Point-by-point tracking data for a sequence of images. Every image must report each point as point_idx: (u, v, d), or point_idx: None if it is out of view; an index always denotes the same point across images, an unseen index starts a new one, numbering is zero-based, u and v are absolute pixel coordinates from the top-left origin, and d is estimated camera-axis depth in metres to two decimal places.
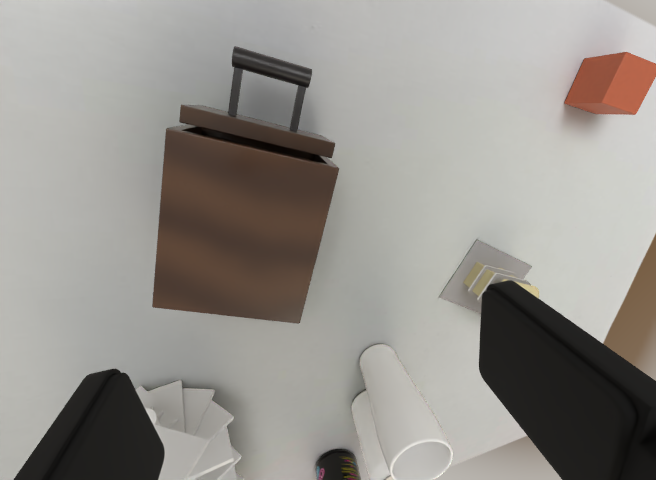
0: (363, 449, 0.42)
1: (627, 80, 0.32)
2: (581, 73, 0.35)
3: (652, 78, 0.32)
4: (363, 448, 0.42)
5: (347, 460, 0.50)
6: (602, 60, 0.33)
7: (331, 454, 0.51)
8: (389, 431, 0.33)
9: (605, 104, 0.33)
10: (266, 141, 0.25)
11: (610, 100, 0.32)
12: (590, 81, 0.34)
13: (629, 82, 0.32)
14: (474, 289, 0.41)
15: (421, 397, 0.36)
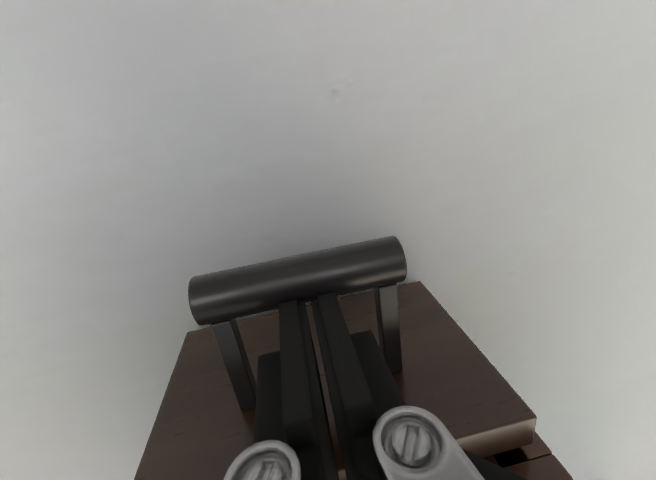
0: None
1: None
2: None
3: None
4: None
5: None
6: None
7: None
8: None
9: None
10: None
11: None
12: None
13: None
14: None
15: None
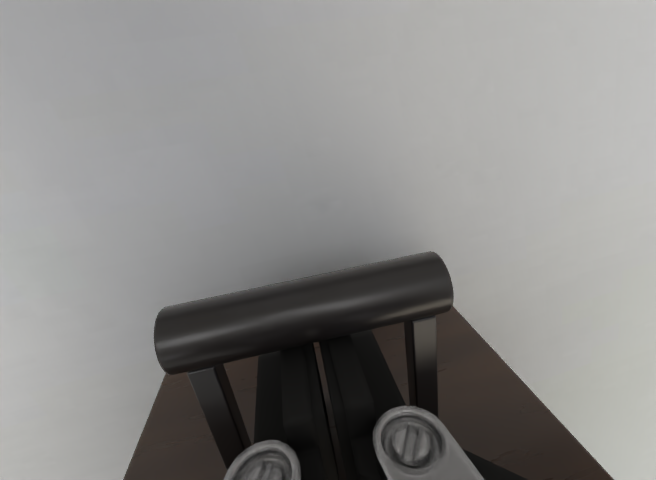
0: None
1: None
2: None
3: None
4: None
5: None
6: None
7: None
8: None
9: None
10: None
11: None
12: None
13: None
14: None
15: None
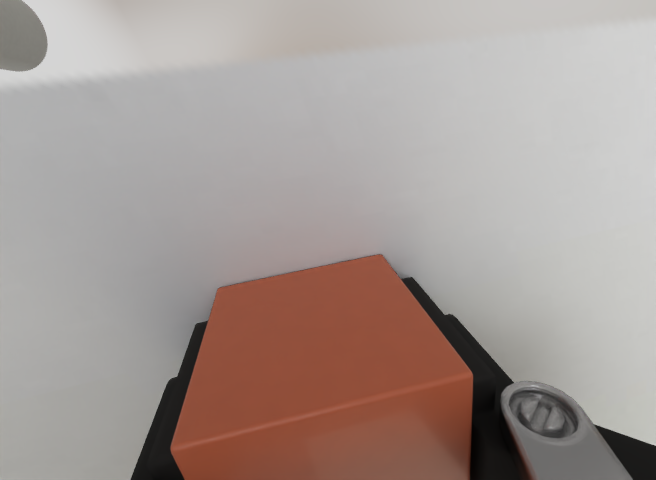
0: None
1: None
2: None
3: (456, 433, 0.05)
4: None
5: None
6: None
7: None
8: None
9: None
10: None
11: None
12: None
13: None
14: None
15: None
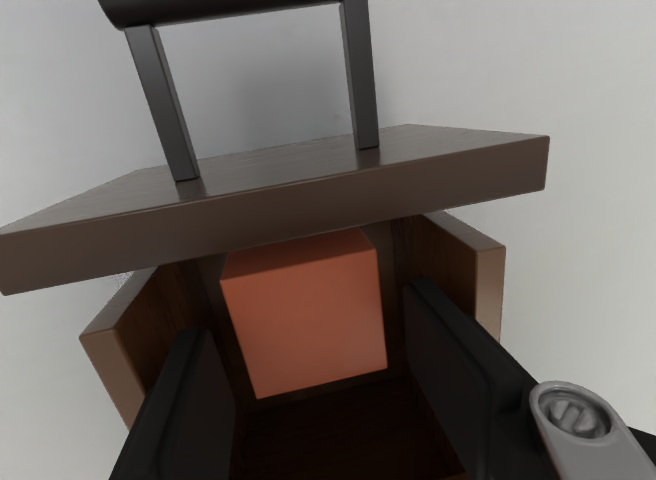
0: None
1: (289, 331, 0.10)
2: None
3: (371, 287, 0.10)
4: None
5: None
6: None
7: None
8: None
9: None
10: (317, 231, 0.07)
11: (276, 385, 0.11)
12: None
13: (303, 329, 0.10)
14: None
15: None
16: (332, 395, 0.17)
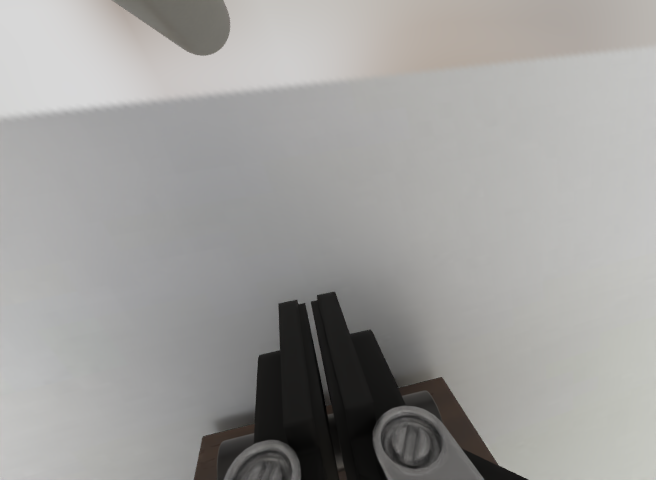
0: None
1: None
2: None
3: None
4: None
5: None
6: None
7: None
8: None
9: None
10: None
11: None
12: None
13: None
14: None
15: None
16: None
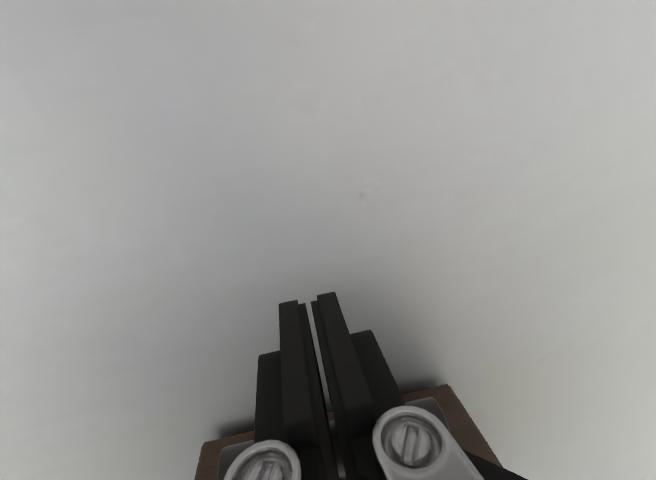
0: None
1: None
2: None
3: None
4: None
5: None
6: None
7: None
8: None
9: None
10: None
11: None
12: None
13: None
14: None
15: None
16: None
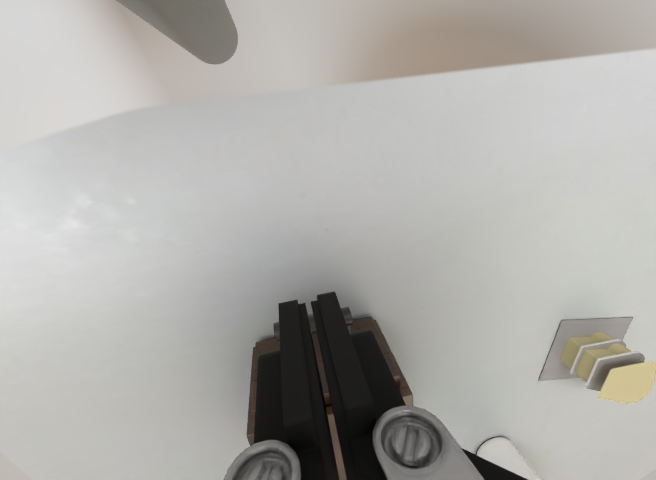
0: None
1: None
2: None
3: None
4: None
5: None
6: None
7: None
8: None
9: None
10: None
11: None
12: None
13: None
14: (577, 371, 0.38)
15: None
16: None
